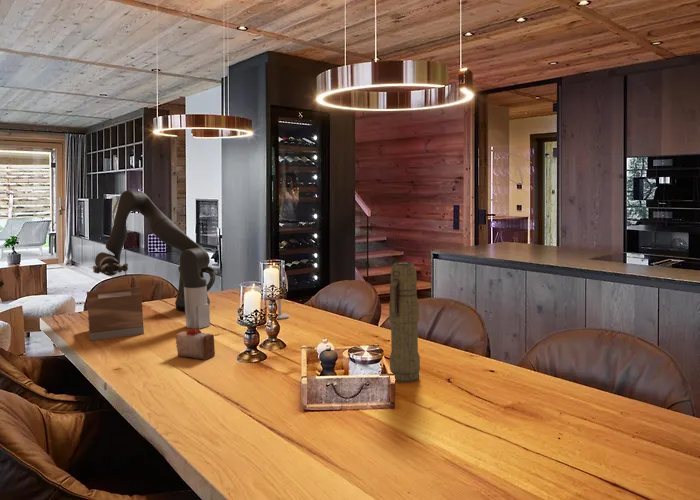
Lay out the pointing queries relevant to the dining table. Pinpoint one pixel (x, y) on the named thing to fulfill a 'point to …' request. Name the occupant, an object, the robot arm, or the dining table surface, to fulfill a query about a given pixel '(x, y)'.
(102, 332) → the tray
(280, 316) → the wineglass
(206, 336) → the food item
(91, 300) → the panel
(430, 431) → the dining table surface
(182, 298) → the beer stein
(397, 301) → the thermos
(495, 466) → the dining table surface
